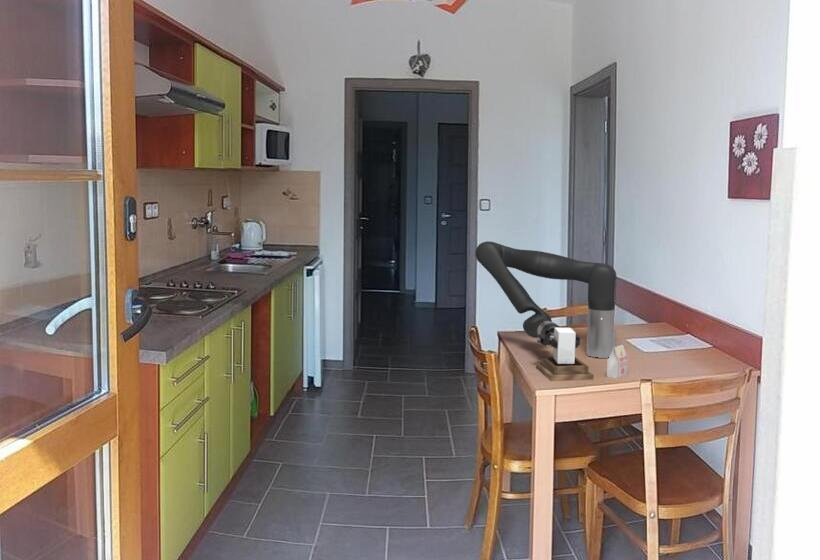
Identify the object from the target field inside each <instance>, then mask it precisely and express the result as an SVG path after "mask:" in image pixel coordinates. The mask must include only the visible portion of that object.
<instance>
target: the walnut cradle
mask: <svg viewBox="0 0 820 560" xmlns="http://www.w3.org/2000/svg"><path fill="white" fill-rule="evenodd" d="M540 360H541V362H540V363H536V364H535V367H536V370H538V371H539V372H540V373H541V374H542V375H544V376H545V377H546V378H547V379H548V380H549V381H551V382H552V381H554V382H556V381H557V382H559V381H560V382H561V381H584V380H583V379H593V380H594V377H595V376H594V374H593V373H591V372H590V371H589V365H587V364H586V363H585V362H583V361H582V360H580V359H578V358H577V357H576V356H575V363H574V364H558V363H557V362H556V361H555V359H554V358H553V356H544V357H543V356H542V357H541V359H540Z"/></svg>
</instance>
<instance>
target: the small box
mask: <svg viewBox="0 0 820 560" xmlns="http://www.w3.org/2000/svg"><path fill="white" fill-rule="evenodd" d="M576 334H577V332H576V331H574V329H573V328H572V327H561V328H554V339H555V340H556V341H557V342H558V346H557V348H554V347H553V353H552V355H553V356H552V357H553V358H554V359H555V361H556V362H557V363H558V364H574V363H575V357H576V348H575V339H576Z"/></svg>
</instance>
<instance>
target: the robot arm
mask: <svg viewBox="0 0 820 560" xmlns="http://www.w3.org/2000/svg"><path fill="white" fill-rule="evenodd" d="M475 249H476V250H475V258H476V260H477V262H478V263H479V264H480V265H481V266H483V268H484V269H485V270H486V271H487V272H488V273H489V275H491V276H492V278H493V279H494V280H495V282H497V284H498V286H499V287H500V288H501V290H502V291H503V292H504V294H505V296H506V297H507V298H508V301H509V302H510V303H511V305H512V306H513V307H514V309H515V310H516V312H517V313H518V314H522V315H523V314H525V313H527V312H531V311H532V312H534V314H532V315H531V316H529V317H528V318H526V319H525V320H524V321H523V323H522V328H523V331H524V333H525V334H526V335H528V336H529V337H531V338H535V339H537V341H536V342H537V343H538V344H540V345H542V346H544V347H545V346H549V347H551V348H553V349H554V348H557V346H558V342H557V341H556V340H555V339H554V328H562V326H560V325H558V324H557V323H555V322H553V321H552V317H551V316H550V315H549V314H548V312H546V311H545V310H544V309H542V308H541V307H540V306H539V305H538V304H537V303H536V302H535V300H533V298H532V297H531V296H530V294H529V293H528V291H527V290H526V288H525V287H524V286H523V285H522V283H521V282H520V281H519V280H518V279H517V278H516V277H515V275H513V273H512V272H511V271H510V269H509V268H512V269H516V270H517V271H520V272H523V273H526V274H528V275H531V276H532V275H533V276H536V277H539V278H545V279H549V280H550V279H551V280H560V281H562V280H564V281H578V282H583V283H584V284H588V286H587V287H588V288H587V303H588V304H587V307H588V308H587V329H586V330H587V331H586V332H587V333H586V350H585V351H586V353H585V354H586V355H587V356H588V357H590V356H591V358H595V357H598V358H599V359H608V357H609V356H610V354H611V352H612V350H613V348H614V347H616V334H617V333H616V330H615V309H616V298H615V297H616V280H617V272H616V270H615V269H614V267H613V266H612V265H610V264H608V263H601V262H600V263H599V262H591V261H582V260H577V259H574V258H570V257H567V256H563V255H559V254H555V253H551V252H546V251H540V250H532V249H518V248H514V247H510V246H507V245H503V244H501V243H497V242H494V241H488V240H487V241H483V242H481V243H479V244H478V245H477V247H476V248H475ZM580 344H581V337H580V336H579V335H578V334H577V333H576V339H575V349H578V347H579V346H580ZM598 358H597V359H598Z"/></svg>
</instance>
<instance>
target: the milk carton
mask: <svg viewBox="0 0 820 560" xmlns="http://www.w3.org/2000/svg"><path fill="white" fill-rule="evenodd" d="M606 363H607V364H606V377H607V376H608V377H613V378H620V377H622V376H624V375H628V356H627V353H626V351H625V347H624V344H620V345H617V346H615V347H614V348H613V350H612V352H611V354H610V356H609V358H607V360H606ZM624 377H625V376H624ZM622 378H623V377H622ZM620 379H621V378H620Z"/></svg>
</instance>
